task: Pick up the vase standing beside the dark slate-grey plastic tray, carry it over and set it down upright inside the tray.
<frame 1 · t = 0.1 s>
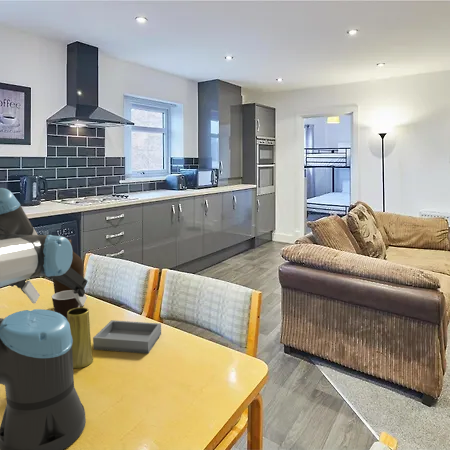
hand: (59, 300, 100), 15 cm above the table, tool tilted 35°, fingers open, 13 cm apart
coffee mug: (71, 322, 122), on the table
vase: (81, 363, 98), on the table
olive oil: (70, 307, 135), on the table
tray: (128, 341, 109), on the table
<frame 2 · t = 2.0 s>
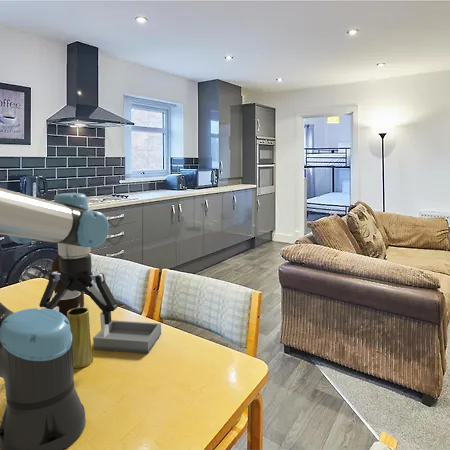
hand: (80, 333, 97), 8 cm above the table, tool pointing down, fingers open, 13 cm apart
nothing on the table moved.
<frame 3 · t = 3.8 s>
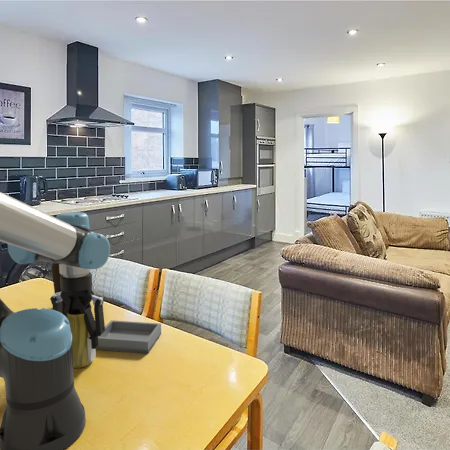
hand: (80, 358, 97), 1 cm above the table, tool pointing down, fingers closed on vase, 6 cm apart
vase: (80, 362, 98), on the table, touching gripper
everything else where it was.
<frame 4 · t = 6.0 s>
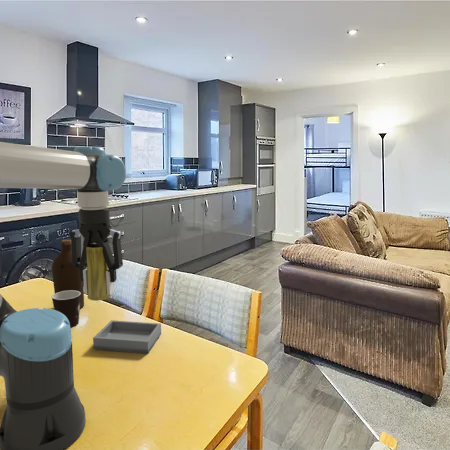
hand: (99, 292, 100), 17 cm above the table, tool pointing down, fingers closed on vase, 6 cm apart
vase: (99, 297, 100), point 16 cm above the table, touching gripper
everything else where it was.
when the fingers open (4 cm above the table, at t = 8.7 s): vase drops 1 cm, resting on tray.
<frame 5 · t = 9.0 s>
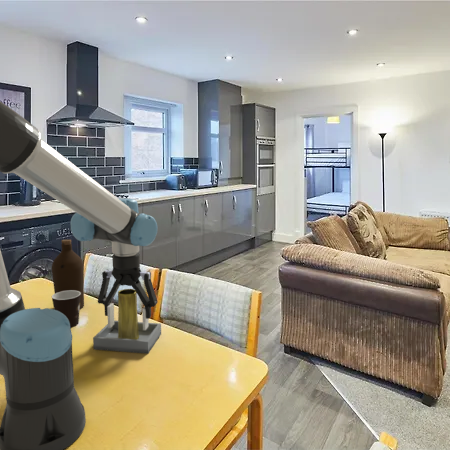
hand: (128, 327, 109), 4 cm above the table, tool pointing down, fingers open, 10 cm apart
vase: (128, 338, 109), point 1 cm above the table, touching tray
everything else where it was.
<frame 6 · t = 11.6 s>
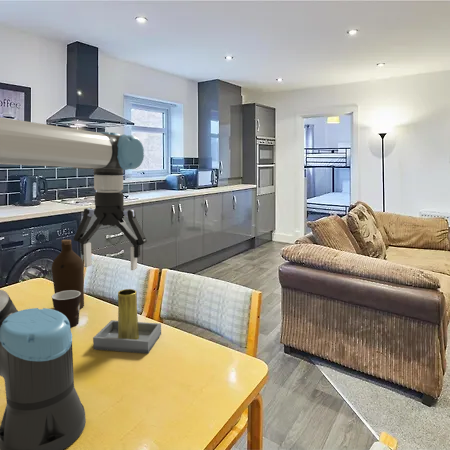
hand: (110, 267, 103), 23 cm above the table, tool pointing down, fingers open, 13 cm apart
nothing on the table moved.
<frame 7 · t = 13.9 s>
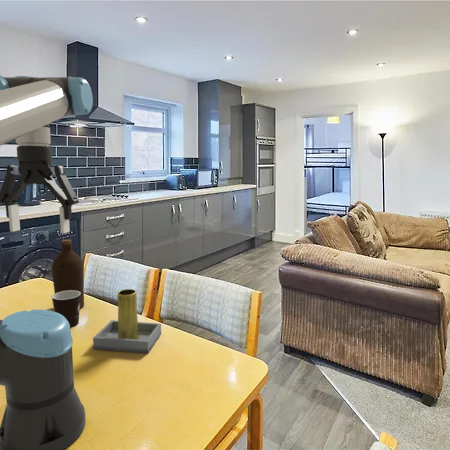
hand: (40, 231, 93), 35 cm above the table, tool pointing down, fingers open, 13 cm apart
nothing on the table moved.
at the end: vase inside the target area on the tray (0.1 cm from its centre), point 0.8 cm above the tray's base; vase tilted 0°; the gripper is holding nothing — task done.
